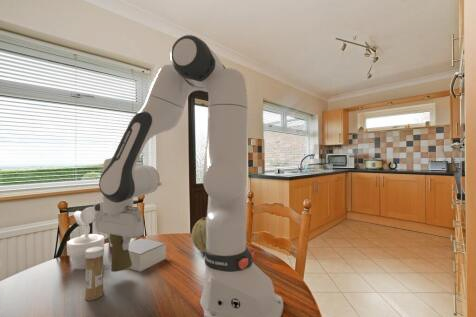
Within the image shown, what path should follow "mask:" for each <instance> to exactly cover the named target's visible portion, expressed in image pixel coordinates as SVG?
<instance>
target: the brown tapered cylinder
mask: <svg viewBox="0 0 476 317" xmlns="http://www.w3.org/2000/svg"><path fill="white" fill-rule="evenodd" d="M123 241H124V240H123V236H118V235H112V236H111V237H110V241H109V243H110V242H111V244H112V247H111V265H110V266H111V267H110V268H111V269H110V271H111V272H114V273H116V272H122V271H125V270H127V269H130V268H129V267H131V266H132V262H131V258H130V254H129V250H128V249H127V250H122V248H121V244H123Z"/></svg>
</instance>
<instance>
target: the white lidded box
mask: <svg viewBox="0 0 476 317" xmlns="http://www.w3.org/2000/svg"><path fill="white" fill-rule="evenodd" d="M166 247H167V244H166V243H164V242H160V241H156V240H152V239H151V240H150V239H146V238H143V237H141V238H138V239H135V240H133V241H130V242H129V248H128V250H129V254H130V258H131V262H132V266H131V267H129V268H128V269H131V270H133V271H136V272H142V271H145V270H146V269H148V268H150V267H152V266H154V265H157V264H159V263H160V262H162V261H165V260H166V259H167V255H166V254H167V251H166V250H167V249H166Z"/></svg>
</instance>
